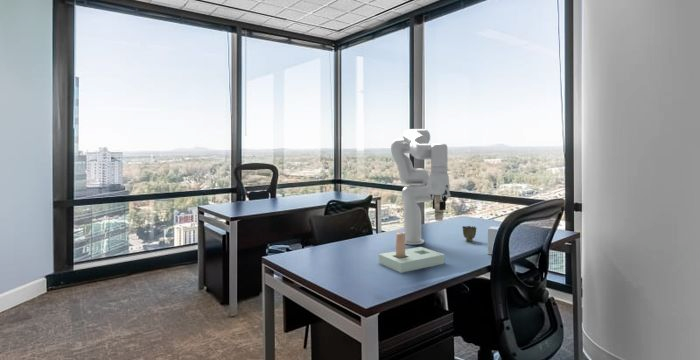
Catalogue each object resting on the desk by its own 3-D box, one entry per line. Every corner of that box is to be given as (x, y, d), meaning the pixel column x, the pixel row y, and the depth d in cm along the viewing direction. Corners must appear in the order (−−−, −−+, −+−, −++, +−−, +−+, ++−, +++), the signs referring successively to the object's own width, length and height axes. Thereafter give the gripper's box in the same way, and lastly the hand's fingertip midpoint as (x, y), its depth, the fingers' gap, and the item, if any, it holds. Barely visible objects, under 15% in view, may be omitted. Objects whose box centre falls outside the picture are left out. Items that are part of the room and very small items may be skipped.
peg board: (378, 265, 168) (378, 254, 167) (420, 257, 179) (420, 246, 179) (400, 275, 154) (400, 263, 153) (444, 265, 165) (444, 254, 165)
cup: (477, 242, 205) (477, 228, 204) (463, 242, 206) (463, 228, 205) (475, 239, 212) (475, 225, 211) (461, 239, 213) (461, 225, 213)
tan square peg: (394, 264, 164) (393, 233, 163) (401, 263, 166) (401, 232, 165) (399, 267, 161) (399, 235, 160) (407, 265, 163) (406, 233, 162)
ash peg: (432, 219, 178) (432, 190, 177) (439, 219, 180) (439, 189, 179) (438, 221, 174) (438, 191, 173) (445, 220, 176) (445, 190, 175)
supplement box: (503, 256, 178) (503, 230, 177) (487, 254, 182) (487, 228, 181) (506, 252, 185) (506, 227, 184) (490, 250, 188) (490, 225, 187)
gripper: (421, 170, 181) (421, 207, 182) (445, 171, 166) (445, 212, 168) (432, 169, 184) (432, 206, 186) (458, 170, 170) (458, 210, 171)
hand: (439, 208), depth 177 cm, fingers closed on ash peg, 4 cm apart
